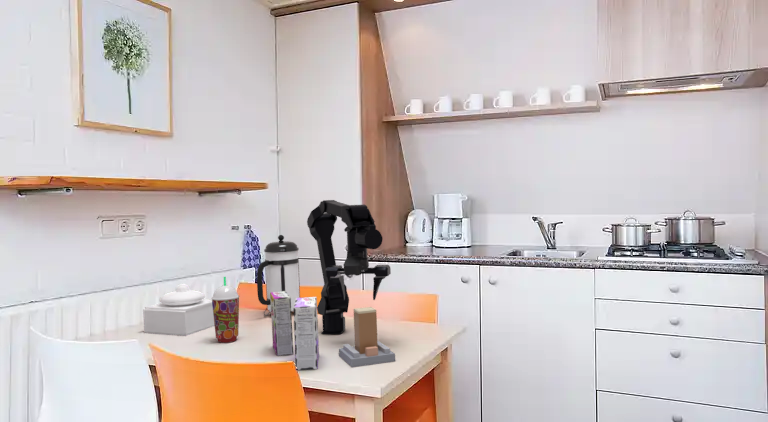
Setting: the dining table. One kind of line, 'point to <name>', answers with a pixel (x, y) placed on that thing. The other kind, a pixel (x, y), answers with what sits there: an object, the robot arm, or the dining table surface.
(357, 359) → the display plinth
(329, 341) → the dining table surface
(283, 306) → the candy bar box
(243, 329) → the dining table surface
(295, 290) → the coffee press
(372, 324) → the cream-topped square box
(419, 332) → the dining table surface
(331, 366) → the dining table surface
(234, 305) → the smoothie
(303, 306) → the candy box
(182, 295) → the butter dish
